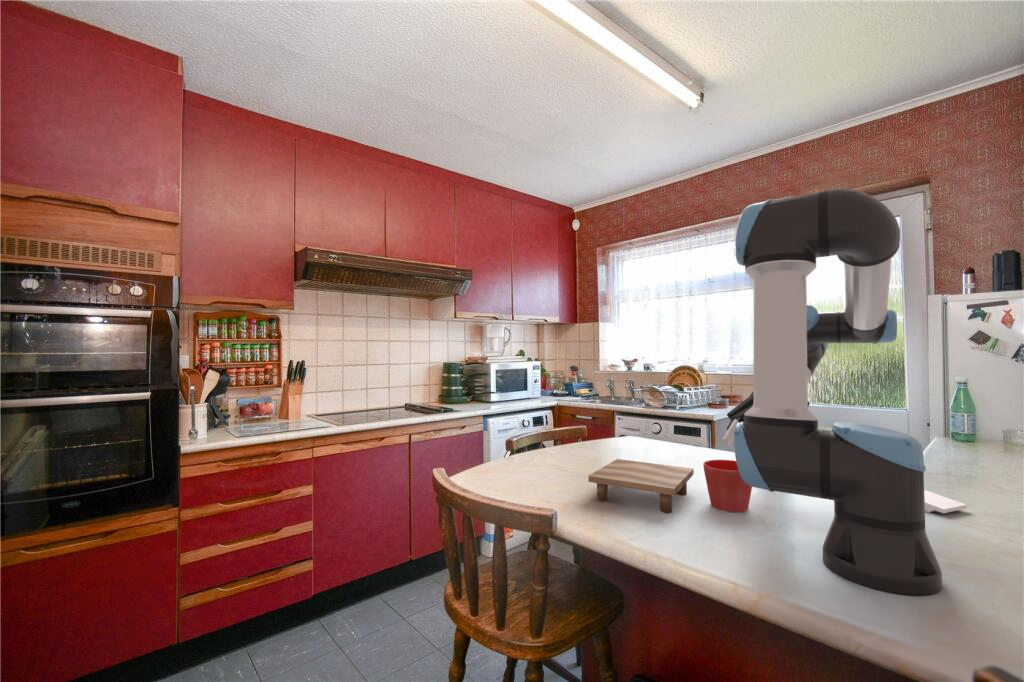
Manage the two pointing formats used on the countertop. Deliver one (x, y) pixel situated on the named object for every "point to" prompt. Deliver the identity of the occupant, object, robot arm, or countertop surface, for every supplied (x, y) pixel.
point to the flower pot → (726, 486)
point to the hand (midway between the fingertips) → (750, 447)
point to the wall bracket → (941, 503)
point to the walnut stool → (643, 479)
